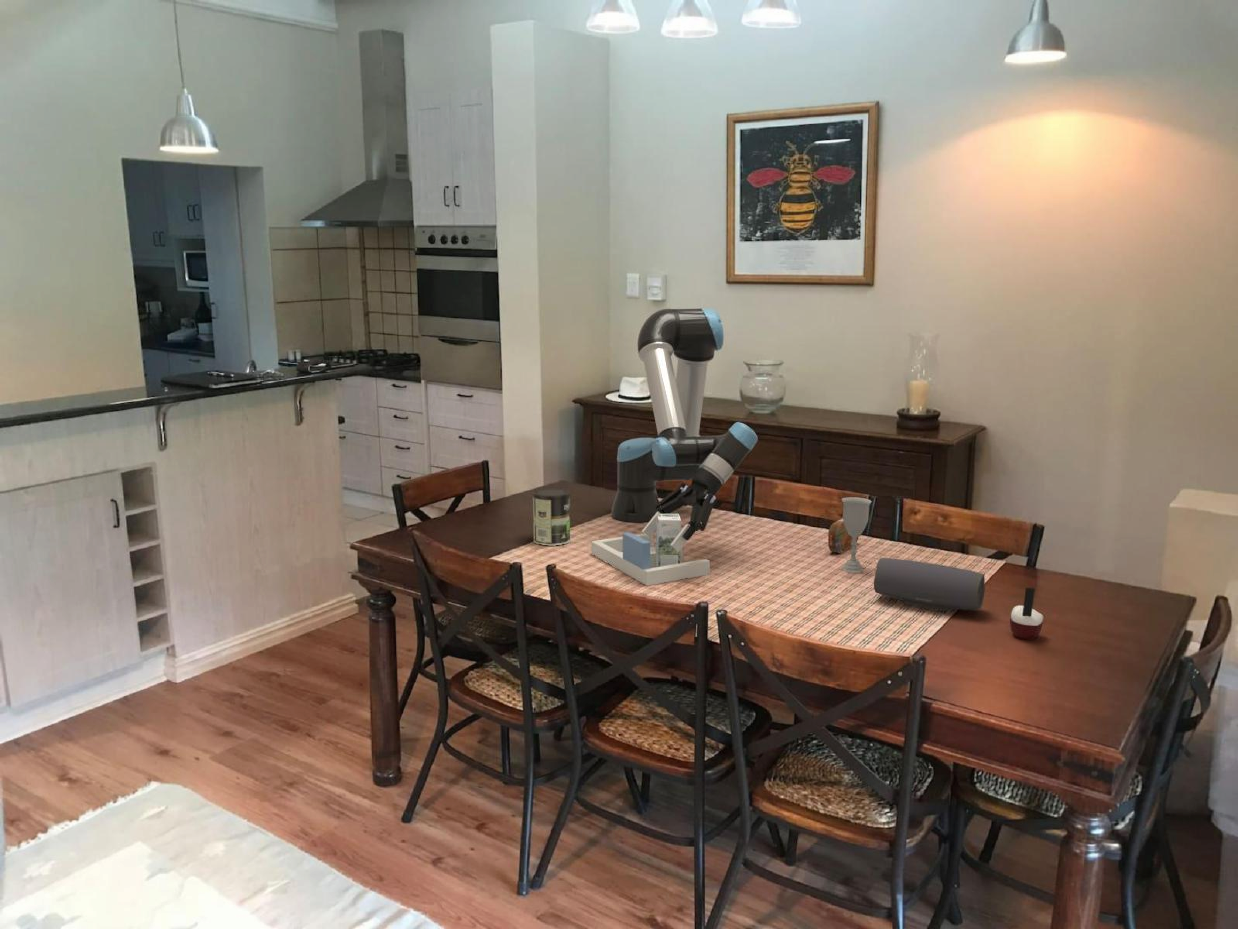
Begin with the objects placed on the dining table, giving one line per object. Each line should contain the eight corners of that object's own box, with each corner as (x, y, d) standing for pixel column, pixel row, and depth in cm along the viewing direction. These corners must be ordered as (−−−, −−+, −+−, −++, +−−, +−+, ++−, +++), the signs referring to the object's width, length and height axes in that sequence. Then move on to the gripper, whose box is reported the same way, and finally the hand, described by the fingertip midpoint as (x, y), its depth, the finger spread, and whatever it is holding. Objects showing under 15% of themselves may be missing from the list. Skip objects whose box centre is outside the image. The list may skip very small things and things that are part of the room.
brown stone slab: (836, 557, 260) (837, 526, 259) (825, 554, 262) (826, 524, 260) (859, 544, 272) (861, 514, 270) (849, 542, 274) (850, 512, 272)
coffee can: (571, 536, 278) (571, 487, 275) (569, 546, 268) (568, 496, 265) (535, 535, 278) (534, 487, 276) (531, 546, 268) (530, 495, 265)
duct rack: (591, 554, 262) (591, 517, 259) (649, 544, 270) (650, 509, 268) (647, 585, 237) (647, 545, 235) (709, 574, 245) (710, 535, 243)
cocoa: (1017, 629, 212) (1021, 574, 210) (1048, 635, 207) (1052, 580, 206) (1000, 639, 205) (1004, 583, 203) (1031, 646, 201) (1035, 589, 199)
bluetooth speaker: (983, 609, 222) (987, 566, 220) (975, 622, 215) (979, 578, 213) (883, 591, 234) (885, 551, 232) (871, 603, 226) (874, 561, 224)
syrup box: (677, 568, 250) (678, 512, 247) (680, 575, 245) (681, 518, 242) (655, 568, 250) (656, 512, 247) (657, 575, 244) (658, 519, 241)
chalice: (834, 571, 248) (838, 501, 245) (841, 564, 254) (845, 496, 250) (863, 575, 245) (867, 505, 241) (870, 568, 251) (874, 499, 247)
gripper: (749, 495, 240) (696, 563, 236) (693, 475, 261) (643, 537, 257) (732, 476, 236) (677, 545, 232) (676, 457, 258) (625, 520, 254)
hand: (659, 541), depth 245 cm, fingers open, 13 cm apart
